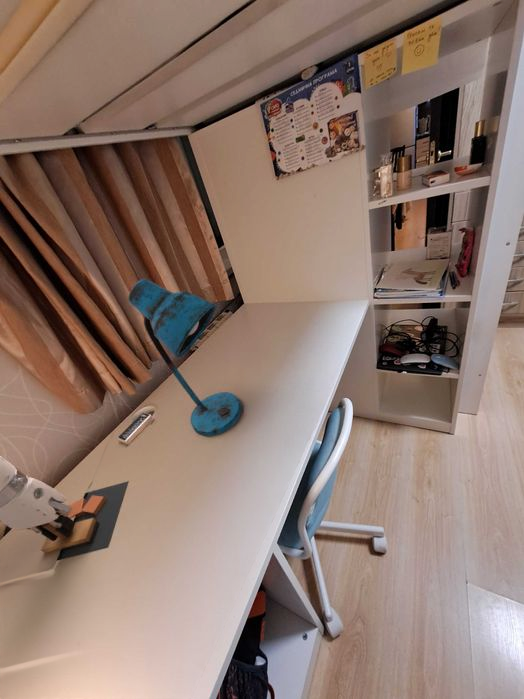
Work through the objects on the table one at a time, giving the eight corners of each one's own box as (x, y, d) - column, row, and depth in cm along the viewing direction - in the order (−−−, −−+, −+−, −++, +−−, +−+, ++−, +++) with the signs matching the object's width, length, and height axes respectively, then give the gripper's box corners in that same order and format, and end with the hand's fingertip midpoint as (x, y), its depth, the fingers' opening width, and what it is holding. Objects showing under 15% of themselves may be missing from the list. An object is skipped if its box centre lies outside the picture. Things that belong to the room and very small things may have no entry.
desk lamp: (242, 443, 78) (167, 291, 53) (180, 431, 88) (93, 299, 63) (264, 399, 89) (210, 258, 64) (207, 393, 99) (142, 269, 74)
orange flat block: (68, 522, 72) (64, 520, 71) (71, 508, 75) (68, 505, 74) (84, 514, 72) (81, 511, 71) (86, 500, 75) (83, 497, 75)
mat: (28, 569, 65) (26, 568, 65) (61, 500, 78) (60, 499, 78) (109, 548, 64) (108, 547, 64) (130, 482, 77) (128, 480, 77)
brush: (48, 555, 66) (19, 537, 61) (57, 534, 70) (31, 516, 65) (92, 543, 65) (66, 524, 60) (99, 522, 69) (75, 503, 64)
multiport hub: (120, 442, 91) (116, 437, 90) (146, 416, 98) (142, 411, 97) (128, 446, 89) (124, 441, 87) (154, 419, 96) (151, 414, 94)
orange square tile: (84, 513, 72) (81, 511, 72) (95, 497, 75) (92, 495, 75) (96, 515, 71) (93, 512, 70) (106, 499, 74) (103, 496, 73)
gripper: (50, 461, 58) (103, 506, 68) (-21, 482, 59) (41, 523, 69) (29, 497, 52) (90, 541, 62) (-50, 519, 53) (23, 559, 63)
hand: (64, 531), depth 65 cm, fingers closed on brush, 2 cm apart
